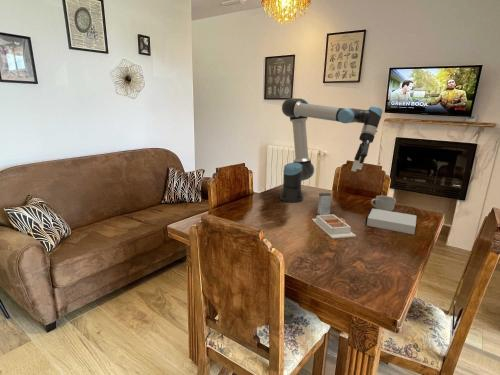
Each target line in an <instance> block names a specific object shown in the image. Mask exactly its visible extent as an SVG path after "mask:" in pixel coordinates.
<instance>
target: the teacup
mask: <svg viewBox="0 0 500 375" xmlns="http://www.w3.org/2000/svg"><path fill="white" fill-rule="evenodd" d="M374 201H375V203H374ZM396 201H397V200H396V198H395V197H392V196H388V195H381V194H380V195H376V196H375V198H372V199H371V200H370V204H371V205H372V207H374V209H379V210H385V211H391V212H393V211H394V209H395V206H396V205H395V204H396Z"/></svg>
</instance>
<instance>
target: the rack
mask: <svg viewBox="0 0 500 375" xmlns="http://www.w3.org/2000/svg"><path fill="white" fill-rule="evenodd" d="M315 216H316V217H315V218H311V220H313V221H312V222H314V224H316V225H317V227H319V228H320V229H321V230H322V231H323V232H324V233H326V234H327V236H328V237H330V238H331V239H334V240H335V239H345V238H346V239H347V238H356V237H357V235H356V234H355V233H354V232H352V231H351V230H352V226H350V225H349V224H348V223H347V220H345V218H342V217H339V216H336V215H335V214H333V213H332V214H330V215H319V214H317V215H315Z"/></svg>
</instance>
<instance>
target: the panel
mask: <svg viewBox="0 0 500 375" xmlns="http://www.w3.org/2000/svg"><path fill="white" fill-rule="evenodd" d="M331 202H332V194H331V192H330V193H329V192H324V193H323V192H322V193H319V194H318V203H317V215H331V214H330V213H331V205H332V204H331Z"/></svg>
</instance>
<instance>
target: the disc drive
mask: <svg viewBox="0 0 500 375" xmlns="http://www.w3.org/2000/svg"><path fill="white" fill-rule="evenodd" d="M416 225H417V215H415V214H410V213H409V214H408V213H402V212H399V211H398V212H397V211H385V210H379V209H377V208H373V207H371V208H370V209H369V211H368V213H367V215H366V218H365V226H367V227H373V228H376V229H382V230H386V231H387V230H388V231H393V232H399V233H404V234H409V235H415V231H416Z"/></svg>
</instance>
